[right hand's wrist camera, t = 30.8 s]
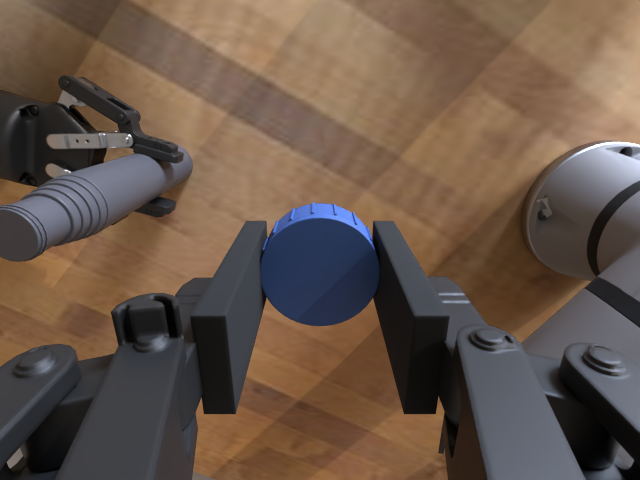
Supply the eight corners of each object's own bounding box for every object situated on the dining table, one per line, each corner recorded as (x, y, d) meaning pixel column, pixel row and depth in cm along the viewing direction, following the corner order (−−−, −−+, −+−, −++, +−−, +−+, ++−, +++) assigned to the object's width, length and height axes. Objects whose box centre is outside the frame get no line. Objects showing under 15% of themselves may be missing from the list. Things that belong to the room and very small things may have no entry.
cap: (256, 207, 14) (247, 222, 12) (371, 195, 13) (378, 209, 12) (274, 306, 15) (268, 332, 13) (377, 296, 15) (385, 321, 13)
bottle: (193, 183, 42) (58, 274, 20) (155, 181, 41) (-22, 270, 20) (191, 144, 40) (42, 198, 19) (151, 142, 40) (-44, 193, 19)
